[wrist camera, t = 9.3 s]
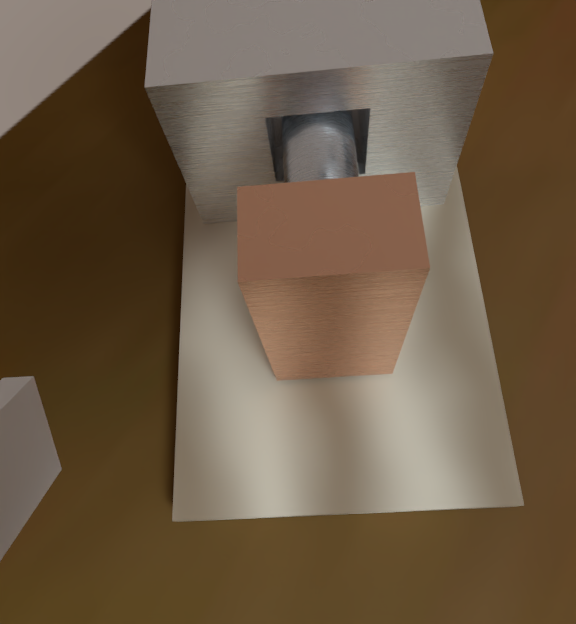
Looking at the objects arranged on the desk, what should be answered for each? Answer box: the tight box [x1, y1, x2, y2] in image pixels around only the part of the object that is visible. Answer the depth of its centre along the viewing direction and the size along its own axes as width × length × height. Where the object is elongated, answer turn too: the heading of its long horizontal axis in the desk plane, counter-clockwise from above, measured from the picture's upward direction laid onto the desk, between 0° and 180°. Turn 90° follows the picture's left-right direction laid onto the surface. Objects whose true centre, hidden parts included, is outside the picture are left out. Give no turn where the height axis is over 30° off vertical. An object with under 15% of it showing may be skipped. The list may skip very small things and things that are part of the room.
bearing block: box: [144, 0, 493, 224], centre depth 24 cm, size 12×8×9 cm, turn 92°
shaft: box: [237, 110, 430, 381], centre depth 22 cm, size 5×18×10 cm, turn 2°
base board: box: [172, 165, 524, 522], centre depth 26 cm, size 14×23×1 cm, turn 2°
